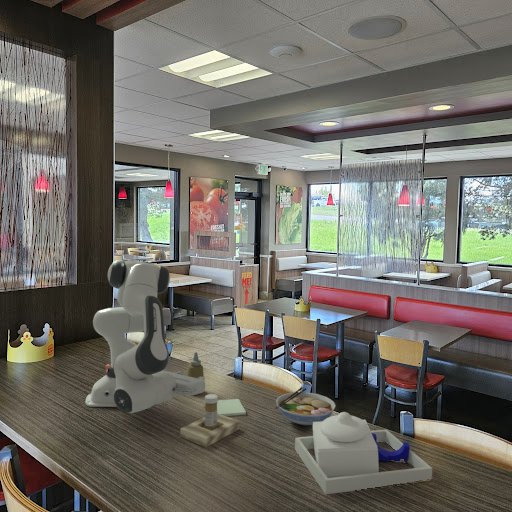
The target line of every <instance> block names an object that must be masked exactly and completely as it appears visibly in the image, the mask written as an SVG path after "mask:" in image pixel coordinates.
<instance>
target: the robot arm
mask: <svg viewBox="0 0 512 512" xmlns="http://www.w3.org/2000/svg"><path fill="white" fill-rule="evenodd" d="M107 280H108V284H109V285H110V286H111V287H113V288H115V289H118V291H117V295H116V300H117V303H118V304H119V305H120V306H121V307H108V308H104V309H100V310H97V312H96V313H95V314H94V316H93V320H92V327H93V329H94V330H95V332H96V333H98V334H99V335H100V336H102V337H103V338H104V339H105V341H106V342H107V343H108V345H109V350H110V362H111V363H110V364H108V363H107V364H106V365H105V368H104V369H105V375H104V376H103V377H101V378H100V379H98V380H97V381H96V382H95V383H94V385H93V386H92V389H91V393H89V394H88V395H87V396H86V398H85V401H84V403H85V405H86V406H87V407H90V408H91V407H102V408H103V407H109V408H111V407H112V408H117V409H118V410H119V411H121V412H123V413H126V414H132V413H139V412H142V411H144V410H146V409H150V408H152V407H153V406H154V405H161V404H163V403H166V402H167V401H170V400H172V399H174V397H175V396H176V394H178V395H182V396H187V397H192V396H195V395H200V394H202V393H204V392H205V390H206V381H205V380H206V379H205V376H204V377H201V376H200V377H198V378H193V377H189V376H187V375H185V374H184V372H183V371H179V370H178V371H175V372H174V371H173V372H172V371H167V370H165V369H166V367H167V366H168V363H169V359H170V356H169V355H170V354H169V348H168V346H167V342H166V335H165V321H164V320H165V319H164V311H163V310H164V309H163V305H162V302H161V300H160V299H159V298H158V295H159V294H164V293H165V292H166V291H167V290H168V288H169V285H170V284H171V283H170V282H171V275H170V271H169V269H168V268H167V267H165V266H163V265H156V264H152V263H148V262H146V261H145V262H144V261H138V260H137V261H133V260H125V259H115V260H114V261H113V262H112V264H110V265H109V268H108V271H107ZM141 332H143V333H144V334H143V338H142V339H141V340H140V342H139V343H138V344H136V343H135V342H134V341H131V340H129V339H126V334H133V333H141ZM199 393H200V394H199Z"/></svg>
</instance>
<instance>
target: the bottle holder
mask: <svg viewBox="0 0 512 512" xmlns="http://www.w3.org/2000/svg"><path fill="white" fill-rule="evenodd" d="M238 430H240V420H238V419H234V418H232V417H230V416H224V415H221V414H218V413H217V428H216V429H214V430H212V431H210V430H208V429H205V416H204V417H202V418H200V419H198V420H196V421H194V422H191V423H189V424H186V425H185V426H183V427H181V428H180V430H179V431H180V436H179V437H180V438H182V439H184V440H187V441H189V442H192V443H195V444H197V445H199V446H201V447H204V448H208V447H209V446H212V445H213V444H215V443H216V442H218V441H220V440H222V439H224V438H225V437H227V436H229V435H231V434H233V433H235V432H237V431H238Z"/></svg>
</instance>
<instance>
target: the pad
mask: <svg viewBox="0 0 512 512" xmlns="http://www.w3.org/2000/svg"><path fill="white" fill-rule="evenodd" d="M240 400H241V399H239V398H233V399H232V398H231V399H218V402H217V413H218V414H221V415H224V416H227V417H233V416H246V415H247V412H246V409H245V407H244V405H243V404H242V403H241V401H240Z"/></svg>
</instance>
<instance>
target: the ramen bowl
mask: <svg viewBox="0 0 512 512" xmlns="http://www.w3.org/2000/svg"><path fill="white" fill-rule="evenodd" d="M306 391H307V387H304V388H303V387H302V386H301V387H299V388H298V389H297V390H296V391H295V392H290V393H285V394H282V395H280V396H278V397H277V399H276V400H275V401H276V407H274V409H276V410H277V409H278V410H279V412H280V413H281V414H282V416H284V417H285V418H286V419H287V420H288V421H290V422H292V423H295V424H298V425H301V426H313V422H322V421H324V420H325V419H326V418H329V417H331V416H332V414H333V412H334V411H335V408H336V403H335V402H334V400H332V399H331V398H329V397H328V396H324V395H321V394H319V393H312V392H306Z"/></svg>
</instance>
